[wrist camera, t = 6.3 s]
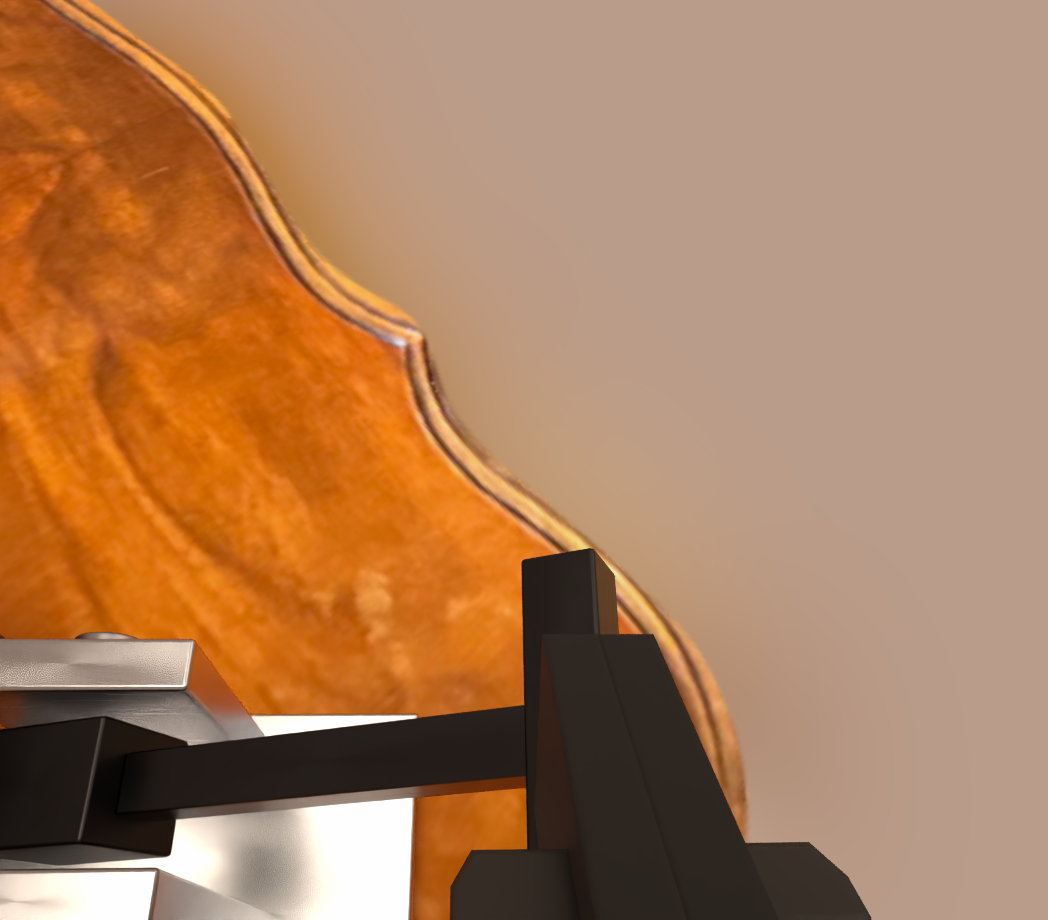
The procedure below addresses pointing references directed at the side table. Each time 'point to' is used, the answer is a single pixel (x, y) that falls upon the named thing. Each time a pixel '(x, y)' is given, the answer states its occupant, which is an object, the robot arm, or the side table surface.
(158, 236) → the side table surface
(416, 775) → the lever
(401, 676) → the side table surface
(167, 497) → the side table surface
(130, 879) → the lever bracket
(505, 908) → the robot arm
